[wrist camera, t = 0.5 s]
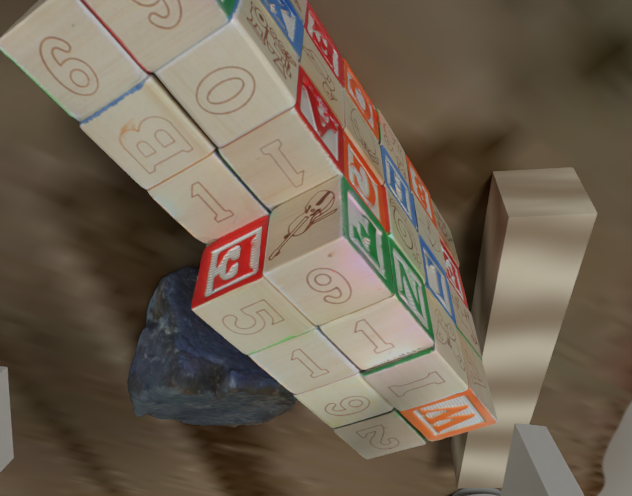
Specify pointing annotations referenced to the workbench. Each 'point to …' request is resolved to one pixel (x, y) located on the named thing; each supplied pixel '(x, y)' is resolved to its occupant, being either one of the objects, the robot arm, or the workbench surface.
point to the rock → (197, 366)
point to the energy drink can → (478, 492)
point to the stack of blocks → (278, 201)
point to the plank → (521, 303)
